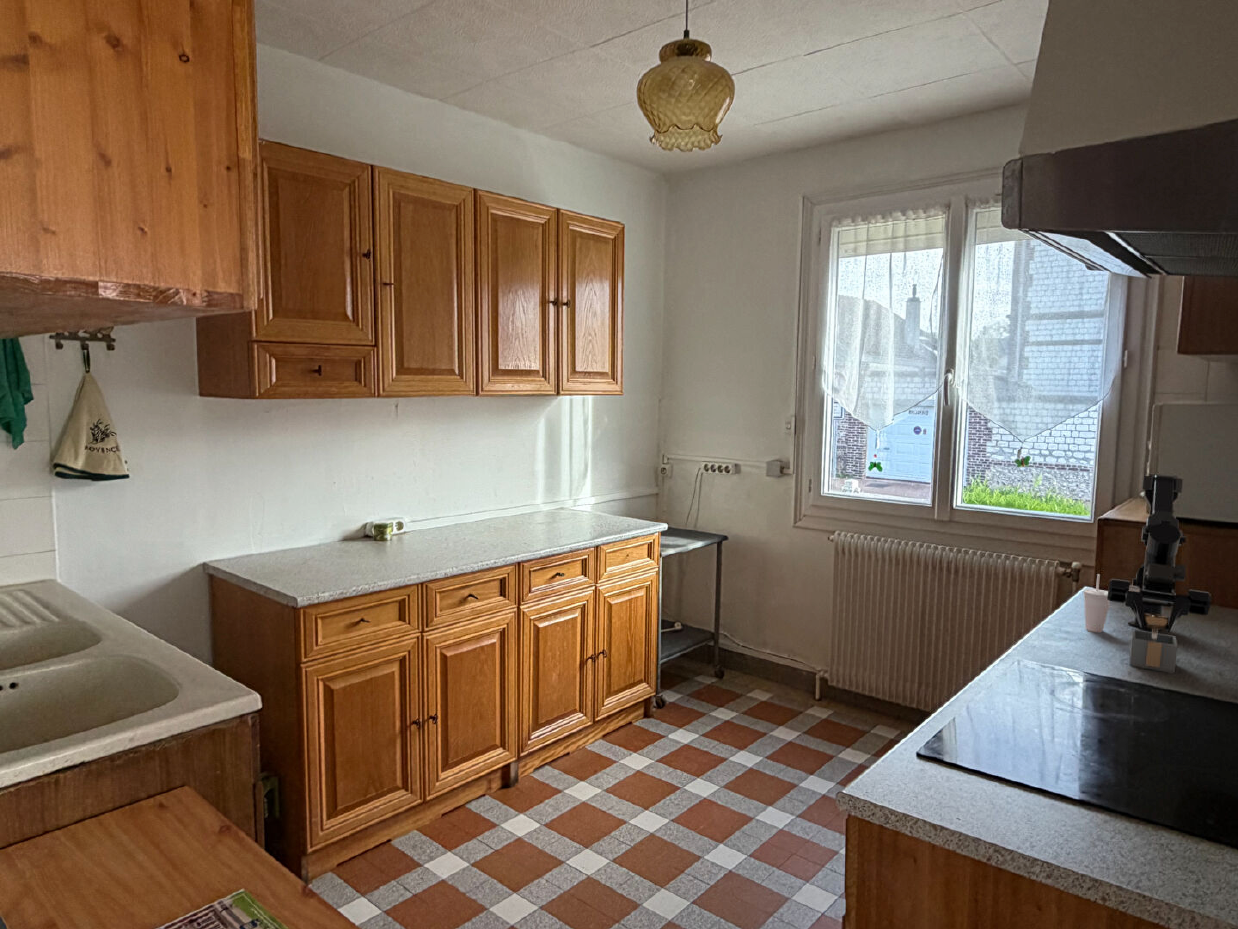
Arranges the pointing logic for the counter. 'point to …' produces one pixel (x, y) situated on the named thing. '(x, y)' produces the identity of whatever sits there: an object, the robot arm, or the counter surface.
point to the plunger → (1155, 623)
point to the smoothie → (1095, 608)
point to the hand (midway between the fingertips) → (1155, 629)
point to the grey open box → (1153, 651)
